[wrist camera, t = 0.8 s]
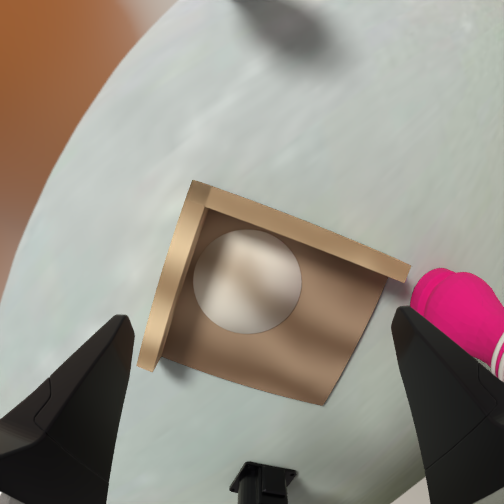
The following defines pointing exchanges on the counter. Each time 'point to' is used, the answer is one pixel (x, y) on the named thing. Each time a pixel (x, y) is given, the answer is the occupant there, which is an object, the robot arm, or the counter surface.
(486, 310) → the pepper mill
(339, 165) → the counter surface
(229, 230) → the brown flat rimmed piece
